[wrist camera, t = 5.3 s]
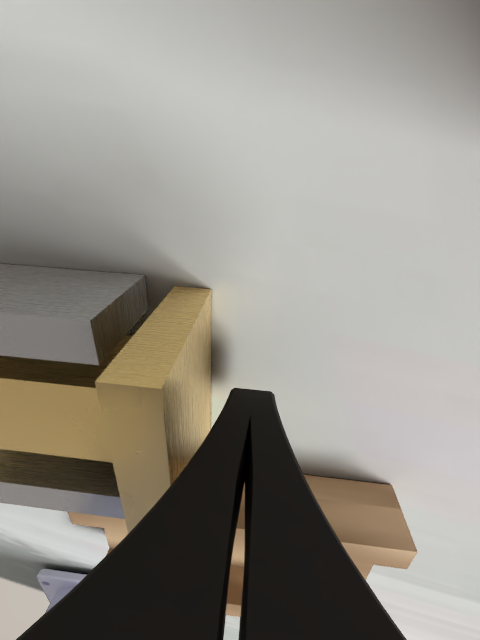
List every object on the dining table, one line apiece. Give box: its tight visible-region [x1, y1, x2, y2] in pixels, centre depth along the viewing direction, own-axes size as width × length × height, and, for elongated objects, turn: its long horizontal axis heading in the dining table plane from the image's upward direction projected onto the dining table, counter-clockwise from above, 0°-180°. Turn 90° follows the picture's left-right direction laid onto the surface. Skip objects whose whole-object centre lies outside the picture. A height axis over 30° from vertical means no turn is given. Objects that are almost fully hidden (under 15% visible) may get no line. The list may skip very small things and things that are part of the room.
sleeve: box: [0, 264, 148, 519], centre depth 10 cm, size 8×7×3 cm
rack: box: [68, 475, 417, 617], centre depth 14 cm, size 7×13×2 cm, turn 87°
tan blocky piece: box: [0, 286, 212, 534], centre depth 9 cm, size 7×10×5 cm
